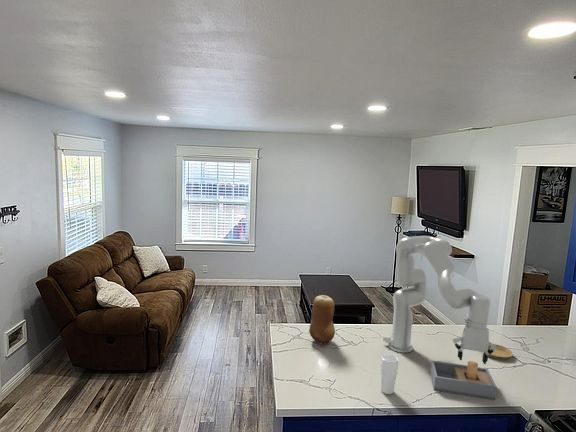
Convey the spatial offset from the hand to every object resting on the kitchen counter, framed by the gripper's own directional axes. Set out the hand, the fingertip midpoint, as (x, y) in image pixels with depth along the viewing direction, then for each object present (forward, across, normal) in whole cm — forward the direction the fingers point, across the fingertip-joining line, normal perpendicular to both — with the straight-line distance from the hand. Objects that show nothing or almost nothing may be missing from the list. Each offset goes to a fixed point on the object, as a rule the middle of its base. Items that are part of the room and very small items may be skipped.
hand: (471, 360), depth 173 cm
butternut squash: (+14, -69, +22) cm, 74 cm away
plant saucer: (+13, +20, +37) cm, 44 cm away
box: (+12, -3, -1) cm, 12 cm away
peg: (+11, +1, -1) cm, 11 cm away
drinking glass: (+13, -35, -15) cm, 40 cm away
